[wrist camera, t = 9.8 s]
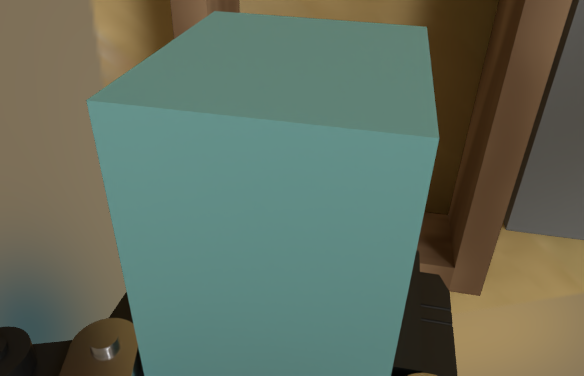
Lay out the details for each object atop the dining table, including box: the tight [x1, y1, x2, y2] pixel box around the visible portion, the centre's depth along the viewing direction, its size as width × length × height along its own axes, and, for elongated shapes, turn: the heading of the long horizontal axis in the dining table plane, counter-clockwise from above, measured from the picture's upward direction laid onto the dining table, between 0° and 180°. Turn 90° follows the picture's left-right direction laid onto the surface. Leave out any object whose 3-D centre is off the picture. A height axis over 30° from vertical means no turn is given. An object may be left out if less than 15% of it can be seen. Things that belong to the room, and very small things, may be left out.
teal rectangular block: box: [86, 11, 439, 376], centre depth 11 cm, size 4×14×5 cm, turn 179°
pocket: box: [170, 0, 572, 296], centre depth 27 cm, size 18×23×5 cm
